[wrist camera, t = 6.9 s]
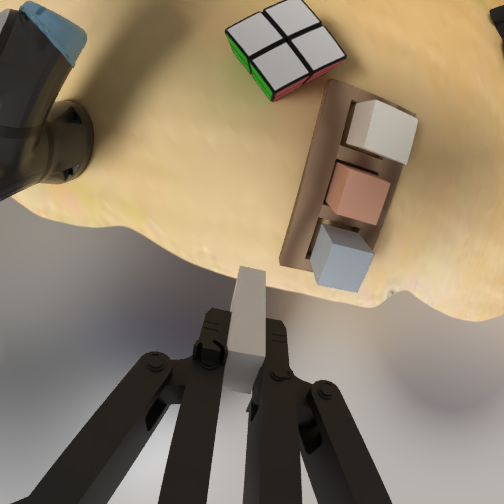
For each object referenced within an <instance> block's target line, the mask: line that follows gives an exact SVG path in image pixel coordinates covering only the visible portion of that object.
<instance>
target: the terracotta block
mask: <svg viewBox="0 0 504 504" xmlns="http://www.w3.org/2000/svg"><path fill="white" fill-rule="evenodd" d="M390 184H391V183H389V182H387V181H385V180H383V179H382V178H380V177H378V176H376V175H374V174H372V173H369V172H366V171H363V170H361V169H358V168H355V167H352V166H349V165H346V164H342V163H339V162H335V165H334V169H333V172H332V176H331V179H330V182H329V186H328V189H327V192H326V196H325V201H326V202H327V203H328V204H329V206H330V207H331V208H332V210H333V211H334V212H335V214H338V215H341V216H345V217H349V218H352V219H356V220H359V221H362V222H366V223H369V224H373V225H376V224H377V221H378V219H379V216H380V213H381V210H382V207H383V205H384V202H385V199H386V196H387V193H388V190H389V187H390Z"/></svg>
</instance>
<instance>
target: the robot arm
mask: <svg viewBox="0 0 504 504" xmlns="http://www.w3.org/2000/svg"><path fill="white" fill-rule="evenodd" d="M86 42H87V34H86V32H85V31H84V30H83V29H82V28H80V27H79V26H78V25H76V24H74V23H73V22H71V21H69V20H68V19H66V18H64V17H62V16H61V15H59V14H57V13H55V12H53V11H51V10H49V9H47V8H45V7H43V6H41V5H39V4H37V3H35V2H32V1H26V2H25V3H24V4H23V5H22V6H20V8H19V11H17V10H12V9H5V10H4V11H2V12H0V201H2V200H4V199H6V198H8V197H10V196H12V195H14V194H16V193H18V192H20V191H22V190H24V189H26V188H28V187H30V186H32V185H35V184H37V183H45V184H62V183H65V182H68V181H70V180H73V179H74V178H76V177H77V176H79V175H80V174H81V173H82V171H83V170H84V169H85V167H86V165H87V164H88V161H89V159H90V156H91V153H92V148H93V139H94V135H93V126H92V122H91V119H90V117H89V115H88V113H87V111H86V110H85V109H84V108H83V107H82V106H81V105H80V104H78V103H76V102H73V101H58V102H55V103H54V101H55V99H56V97H57V95H58V93H59V91H60V89H61V87H62V86H63V84H64V82H65V80H66V78H67V76H68V75H69V73H70V71H71V69H72V68H74V66H75V62H76V60H77V58H78V56H79V55H80V53H81V51H82V49H83V48H84V46H85V44H86ZM265 302H266V271H263V270H258V269H253V268H248V267H244V266H240V268H239V272H238V277H237V281H236V286H235V290H234V294H233V299H232V304H231V309H230V311H224V310H220V309H215V308H211V309H210V310H209V311H208V312H207V313H206V316H205V319H204V323H203V326H202V330H201V334H200V337H199V340H197V341H196V343H195V344H194V349H193V355H192V356H190V357H189V358H186V359H180V360H170V358H169V357H168V356H167V355H165V354H164V353H160V352H149V353H146V354H144V355H143V356H142V357H141V358H140V359H139V360H138V362H137V363H136V364H135V365H134V366H133V367H132V369H131V370H130V371H129V372H128V373H127V375H126V376H125V377H124V378H123V379H122V381H121V382H120V383H119V384H118V386H117V387H116V388H115V389H114V391H112V393H111V394H110V395H109V396H108V397H107V399H106V400H105V401H104V402H103V404H102V405H101V406H100V407H99V409H98V410H97V411H96V412H95V413H94V415H93V416H92V417H91V418H90V420H89V421H88V422H87V423H86V424H85V426H84V427H83V428H82V429H81V431H80V432H79V433H78V434H77V435H76V437H75V438H74V439H73V440H72V442H71V443H70V444H69V446H68V447H67V448H66V449H65V451H64V452H63V453H62V454H61V456H60V457H59V458H58V459H57V461H56V462H55V463H54V464H53V466H52V467H51V468H50V469H49V471H48V472H47V474H46V475H45V476H44V477H43V478H42V480H41V481H40V482H39V484H38V485H37V487H36V488H35V489H34V490H33V491H32V493H31V494H30V495H29V496H28V497H26V498H24V499H21V500H19V501H16V502H14V503H12V504H107V502H108V501H109V499H110V498H111V496H112V495H113V494H114V492H115V490H116V489H117V487H118V486H119V484H120V483H121V481H122V480H123V478H124V476H125V475H126V474H127V472H128V471H129V469H130V467H131V466H132V464H133V463H134V461H135V460H136V458H137V457H138V455H139V454H140V452H141V450H142V449H143V447H144V446H145V444H146V443H147V441H148V440H149V438H150V436H151V435H152V433H153V432H154V430H155V429H156V427H157V425H158V424H159V422H160V421H161V419H162V418H163V416H164V414H165V413H166V411H167V410H168V408H169V406H170V405H171V404H181V405H180V409H179V413H178V417H177V421H176V425H175V429H174V433H173V438H172V442H171V446H170V451H169V455H168V459H167V464H166V468H165V473H164V477H163V482H162V486H161V491H160V496H159V501H158V504H206V502H207V494H208V486H209V479H210V471H211V463H212V456H213V448H214V441H215V434H216V426H217V420H218V413H219V405H220V398H221V391H222V389H224V390H229V391H235V392H241V393H248V394H250V393H251V391H252V398H251V401H250V403H249V405H248V407H247V410H246V412H249V418H248V434H247V449H246V464H245V480H244V493H243V504H302V486H301V464H300V452H301V455H302V458H303V461H304V464H305V467H306V470H307V473H308V476H309V479H310V481H311V485H312V487H313V490H314V493H315V496H316V499H317V502H318V504H392V502H391V500H390V497H389V495H388V493H387V491H386V488H385V486H384V484H383V482H382V480H381V477H380V475H379V473H378V471H377V469H376V466H375V464H374V462H373V460H372V458H371V456H370V453H369V452H368V449H367V448H366V445H365V443H364V441H363V438H362V436H361V434H360V432H359V430H358V428H357V426H356V424H355V422H354V419H353V417H352V415H351V413H350V411H349V409H348V407H347V405H346V403H345V401H344V399H343V396H342V394H341V392H340V390H339V389H338V387H337V386H336V385H335V384H333V383H332V382H329V381H327V380H320V381H316V382H315V383H314V384H310V383H308V382H305V381H303V380H301V379H299V378H297V377H296V376H295V375H294V373H293V371H292V370H291V369H290V367H289V356H288V344H287V332H286V327H285V326H284V324H283V322H282V321H280V320H274V319H269V318H266V303H265Z"/></svg>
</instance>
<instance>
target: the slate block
mask: <svg viewBox="0 0 504 504" xmlns="http://www.w3.org/2000/svg"><path fill="white" fill-rule="evenodd" d="M373 257H374V253H373V251H372V250H371V249H370V247H369V246H368V245H367V243H366V242H365V241H364V240H363V238H362V237H361V236H360V234H359V233H356V232H353V231H349V230H345V229H341V228H338V227H334V226H330V225H326V224H322V225H321V228H320V231H319V234H318V237H317V240H316V243H315V246H314V249H313V252H312V255H311V257H310V262H311V265H312V269H313V272H314V275H315V279H316V282H317V285H321V286H326V287H331V288H336V289H341V290H347V291H352V292H358V290H359V288H360V286H361V284H362V282H363V279H364V277H365V275H366V273H367V271H368V268H369V266H370V264H371V261H372V259H373Z"/></svg>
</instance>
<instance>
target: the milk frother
mask: <svg viewBox="0 0 504 504" xmlns="http://www.w3.org/2000/svg"><path fill="white" fill-rule="evenodd" d="M489 12H490V15H491V17H492V19H493V21H494V23H495V26H496V28H497V30H498V32H499V34H500V35H501V37H502V38H503V47H504V5H502V6H499V7H496V8H494V9H491V10H490V11H489Z"/></svg>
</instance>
